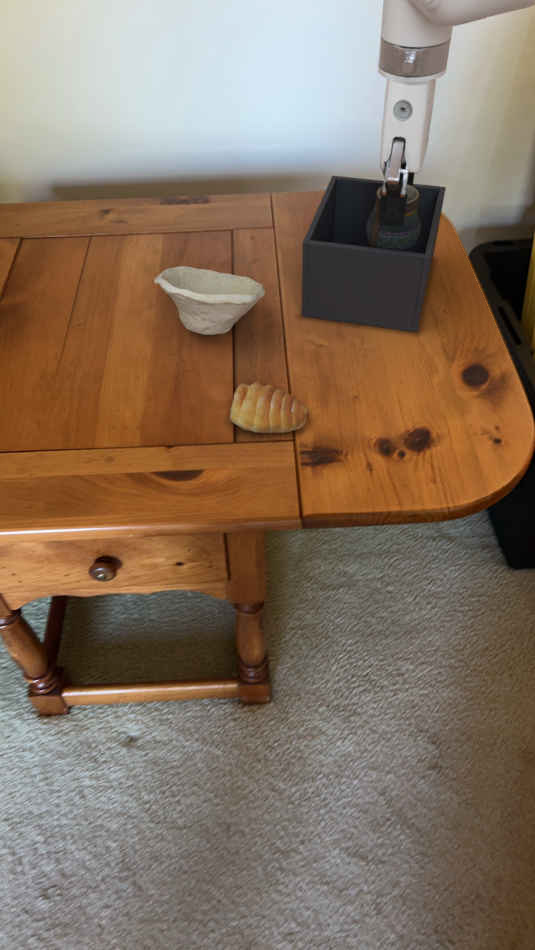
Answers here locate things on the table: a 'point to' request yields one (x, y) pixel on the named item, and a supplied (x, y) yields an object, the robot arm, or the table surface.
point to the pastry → (267, 409)
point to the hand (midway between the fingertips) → (395, 209)
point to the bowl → (209, 297)
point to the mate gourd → (395, 235)
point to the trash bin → (366, 260)
